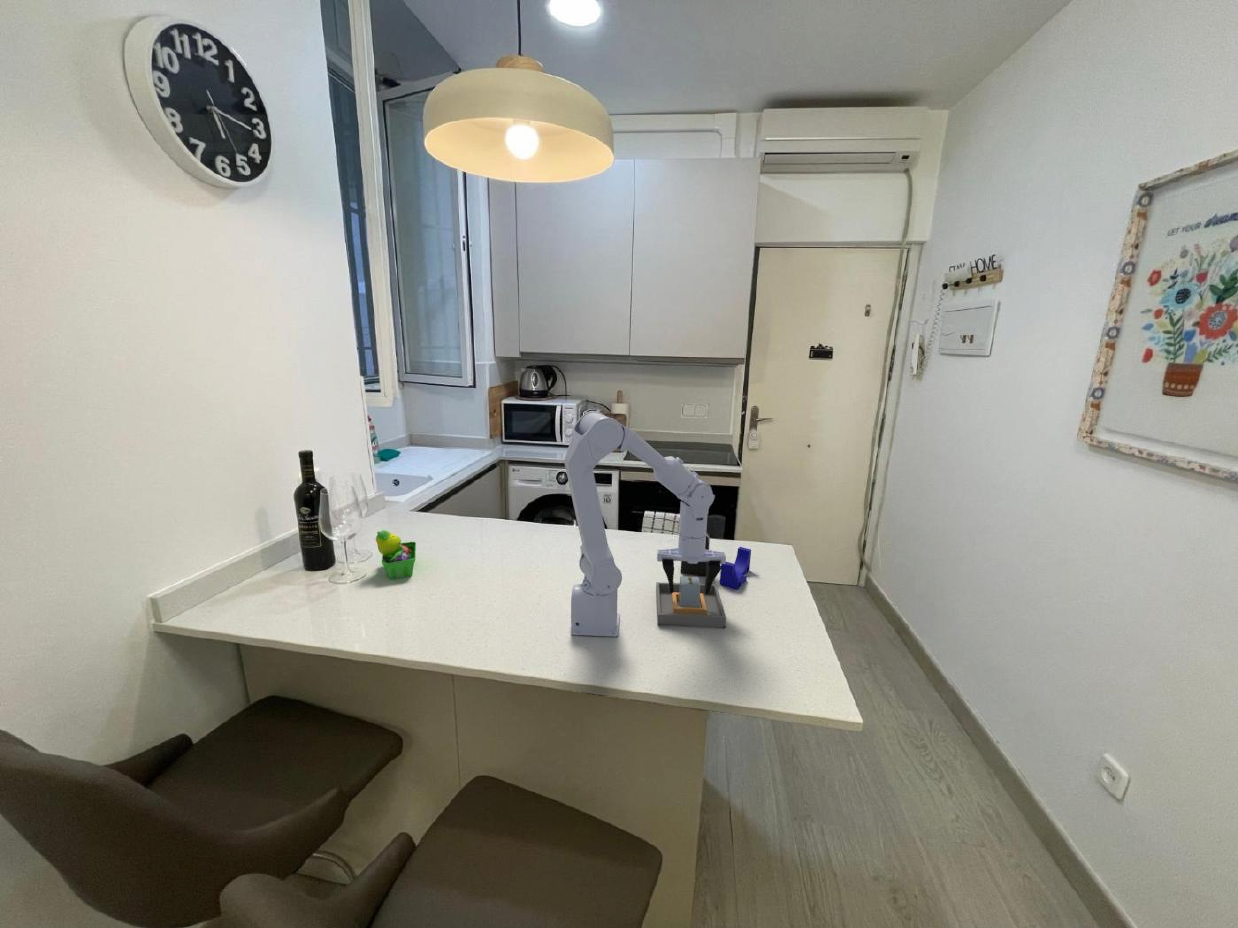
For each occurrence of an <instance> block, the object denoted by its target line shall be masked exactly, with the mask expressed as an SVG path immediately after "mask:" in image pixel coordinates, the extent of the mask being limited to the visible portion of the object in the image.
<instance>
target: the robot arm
mask: <svg viewBox="0 0 1238 928" xmlns="http://www.w3.org/2000/svg"><path fill="white" fill-rule="evenodd" d="M615 450H618V451H620V452H625V451H626V452H627V451H628V452H629V453H631V454H632V455H634V456H635V458H638V459H639V460H641V462H643V463H645V464H646V465H647V466H648V467H650V468H651V469H652V470H653V477H654V480H656V481H657V482H659V483H660V484H661V485H662V486H664V488H666V489H667V490H669V491H670V492H671V493H673V494H674V495H675V496H676V497H677V499H678V500H681V501H680V507H679V529H678V542H677V543H678V547H677V548H668V549H667V548H664V549H657V551H656V555H657V556H656V560H657V561H656V562H661V563H662V568H663V572H664V573H665V576H666V578H667V581H668V582H667V583H669V586H670V593H673V591H674V587H673V583H674V575H675V566H674V565H675V563H674V562H681V561H688V563H692V564H697V563H698V562H706V576H705V580H704V584H705V594H709V591H710V588H711V585H712V584H714V581H715V579H716V577H717V576H718V574H720V572H721V564H725V563H726V562H727V555H726V553H725V551H717V550H713V549H711V550H710V549H709V550H706V549H705V543H706V532H707V530H708V529H707V527H708V526H707V525H708V515H709V509H710V507H711V506H712V504H713V502H714V500H715V497H716V495H715V494H713V490H712V487H711V485H710V484H709V483H707V482H705V481H703V480H701V479H699V478H698V477H699V474H698V473H697V472H696V471H691V470H690V469H689V468H687V467H686V466H685V465H684V460H682V459H681V457H677V456H676V458H675V457H674V456H671V455H670V456H665V457H664V456H663V455H661V453H659V452H658V451H657V450H656V449H655V448H653V446H651V445H650V444H649V443H648V442H647V441H646V440H644V439H643V438H642V437H641V436H640V435H639V434H638V433H637V432H636V431H634V430H632V429H630V428H629V427H627V426H625V425H623V424H621V423H620V422H619V420H616V419H615V418H612V417H609V416H606V415H604V414H603V413H602V412H600V411H595V410H591V411H587V412H586V413H584V414H583V415H582V416H580V418H579V419H578V420H577V421H576V422H575V424H574V425H573V427H572V434H571V438H570V442H569V445H568V448H567V451H566V453H565V457H564V467H565V472H566V477H567V481H568V486H569V489H570V490H569V491H570V494H571V499H572V504H573V509H574V514H575V518H576V523H577V526H578V532H579V536H580V541H581V545H580V547H579V548H580V549H579V550H580V557H579V561H578V563H579V565H578V566H579V569H580V570H581V573H583V574H584V576H583V580H582V583H579V584H576V583H575V584H573V585H572V590H571V596H570V598H571V600H570V627H571V628H570V634H571V635H572V636H592V637H593V636H595V637H618V636H619V630H620V629H619V626H620V619H621V618H620V617H621V616H620V615H621V614H620V613H618V591H619V587H620V586H621V584H622V581H623V574H622V571H621V570H620V569H619V567H618V566H617V565H616V563H615V559H614V556H613V553H612V551H611V547H610V546H609V543H608V538H607V534H606V529H605V528H606V527H605V523H604V517H603V513H602V508H601V503H600V499H599V494H598V489H597V488H598V487H597V482H596V477H595V473H594V469H595V467H596V466H597V465H598V463H600V461H601V460H603V459H604V458H605V457H607V456H608V455H610V454H611V453H613V452H614V451H615Z"/></svg>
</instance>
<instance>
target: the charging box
mask: <svg viewBox="0 0 1238 928" xmlns="http://www.w3.org/2000/svg"><path fill="white" fill-rule="evenodd" d="M673 587H674V591H673V593H670V586H669V582H661V581H660V582H656V585H655V598H656V599H655V600H656V601H655V602H656V622H657V624H656V625H657V626H664V627H665V626H666V627H667V626H668V627H684V628H685V627H688V628H708V629H709V628H710V629H711V628H714V629H726V625H727V624H726V623H727V616H726V613H725V609H724V605H723V603H722V602H723V601H722V599H721V596H720V591H719V589H718V585H717V584H714V583H712V585H711V588H710V591H709V594H705V583H700V600H699V608H697V607H679V589H680V582H673Z"/></svg>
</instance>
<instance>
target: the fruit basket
mask: <svg viewBox="0 0 1238 928" xmlns="http://www.w3.org/2000/svg"><path fill="white" fill-rule="evenodd" d="M376 534H377V535H376V537H375V542H376V544H377V549H378V552H379V553H380V554H381V555H382V559H381V564H382V566H383V568H384V569H385V572H386V575H387V577H388V579H389V580H393V579H401V578H406V577H412V576H413V571H414V565H415V562H416V558H417V557H416V556H417V555H416V551H417V542H415V541H407V542H402V539H401V538H400V536H398V535H396V534H394V533H392V532H390V531H387V530H385V529H383V530H381V531H379V530H378V531H377V532H376Z"/></svg>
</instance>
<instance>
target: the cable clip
mask: <svg viewBox="0 0 1238 928" xmlns="http://www.w3.org/2000/svg"><path fill="white" fill-rule="evenodd" d="M736 553H737V554H736V557H735V561H734V563H733V562H729V561H726V563H725V564H720V566H721V570H720V572H719V575H720V576H719V585H720V586H721V587H725V588H728V589H733V590H735V591H738V590H739V589H740V588H741V587H742V586H743V584H745V583H746V582H747V577H748V575H746V574H748V573H749V571H750V566H751V557H752V556H751V555H752V549H751V548H746V547H743V546H739V547H738V548H737V552H736Z"/></svg>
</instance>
